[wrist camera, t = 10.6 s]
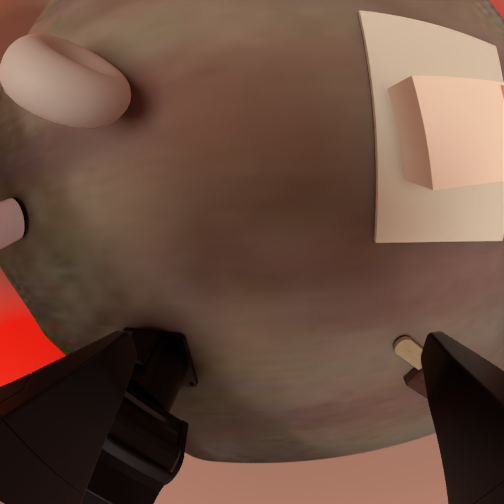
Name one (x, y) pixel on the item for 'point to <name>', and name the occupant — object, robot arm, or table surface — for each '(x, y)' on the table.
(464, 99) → the card deck
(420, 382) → the ice cream bar
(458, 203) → the mat
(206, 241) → the table surface
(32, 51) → the donut
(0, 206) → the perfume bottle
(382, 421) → the table surface
